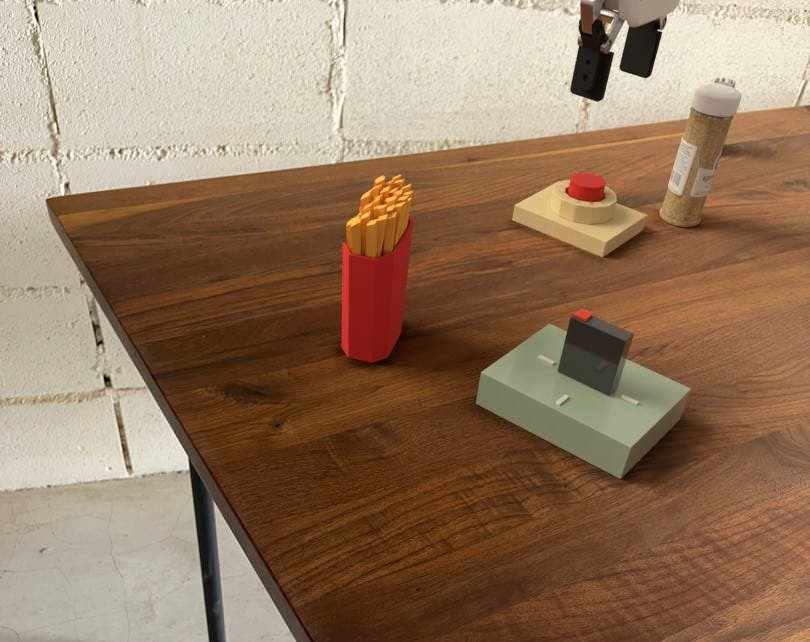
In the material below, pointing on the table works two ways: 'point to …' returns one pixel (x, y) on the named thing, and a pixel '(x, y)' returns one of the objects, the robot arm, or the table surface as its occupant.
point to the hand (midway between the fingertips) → (611, 85)
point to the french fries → (376, 271)
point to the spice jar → (699, 153)
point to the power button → (586, 187)
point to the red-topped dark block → (594, 352)
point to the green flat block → (581, 404)
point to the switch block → (580, 218)
